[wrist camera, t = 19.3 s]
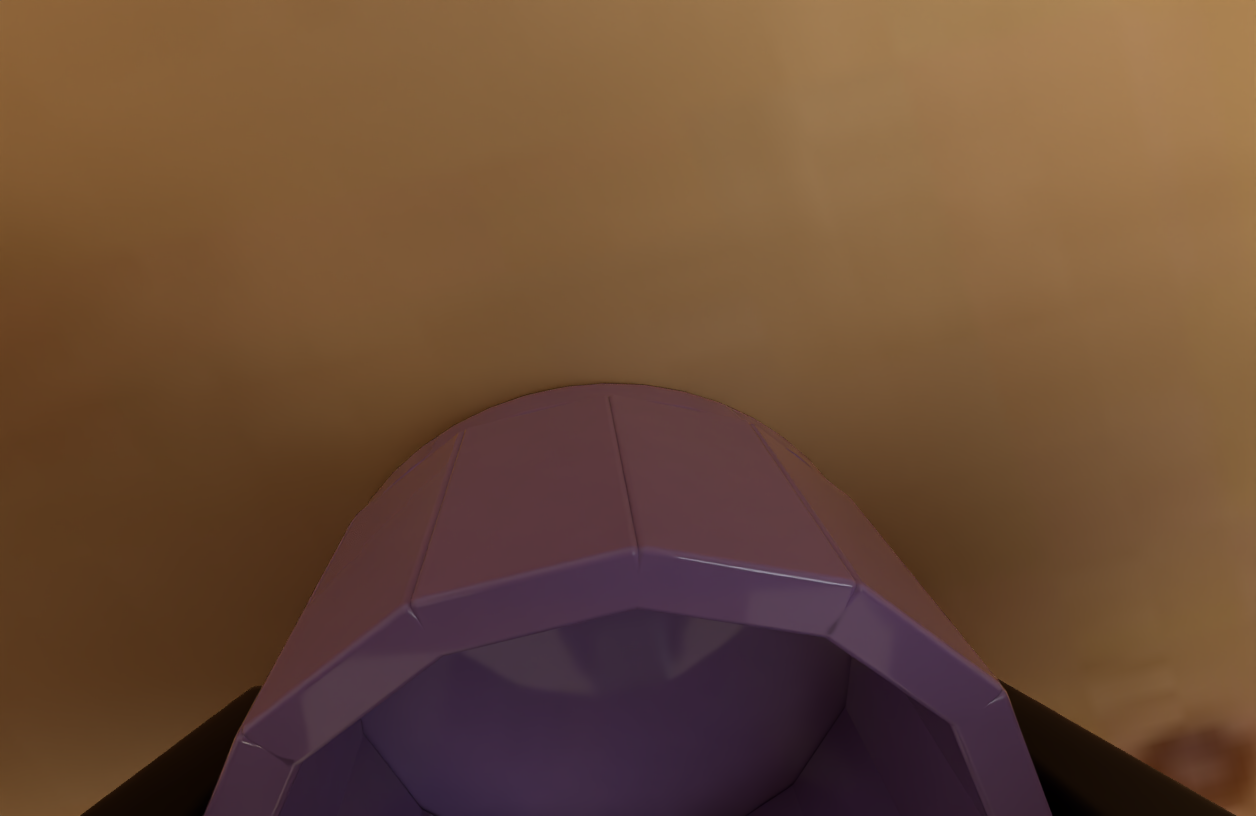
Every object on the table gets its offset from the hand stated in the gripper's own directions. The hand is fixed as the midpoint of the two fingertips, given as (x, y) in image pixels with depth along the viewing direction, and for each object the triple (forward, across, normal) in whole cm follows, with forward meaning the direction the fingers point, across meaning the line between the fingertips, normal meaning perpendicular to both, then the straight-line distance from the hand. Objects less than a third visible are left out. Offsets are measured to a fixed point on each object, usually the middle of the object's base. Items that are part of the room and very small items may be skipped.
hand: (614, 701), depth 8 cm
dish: (+1, 0, 0) cm, 1 cm away
